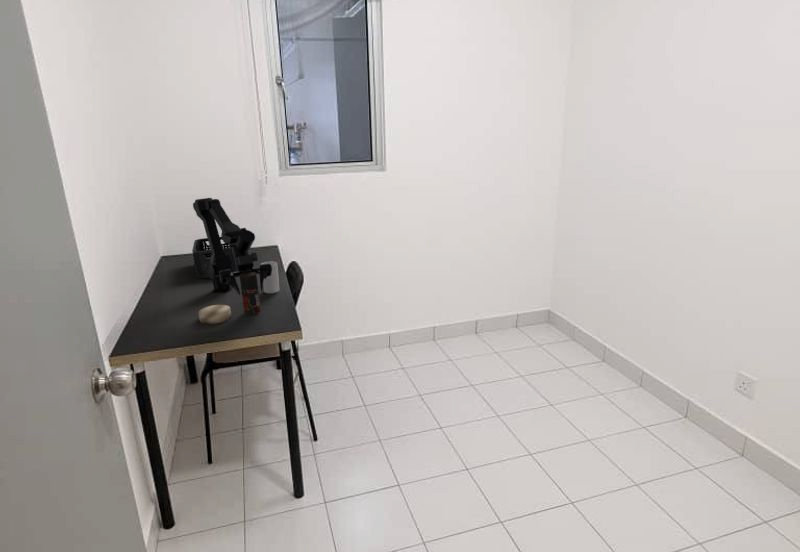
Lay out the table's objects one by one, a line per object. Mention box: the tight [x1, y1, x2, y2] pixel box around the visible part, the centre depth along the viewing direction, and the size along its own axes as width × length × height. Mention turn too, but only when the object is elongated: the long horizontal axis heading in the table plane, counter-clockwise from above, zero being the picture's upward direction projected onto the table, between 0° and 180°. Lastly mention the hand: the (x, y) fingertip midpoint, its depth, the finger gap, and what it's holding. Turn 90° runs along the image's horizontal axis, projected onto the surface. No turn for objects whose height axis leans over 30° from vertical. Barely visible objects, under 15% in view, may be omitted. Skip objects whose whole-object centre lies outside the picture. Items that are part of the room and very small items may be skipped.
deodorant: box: [239, 272, 262, 316], centre depth 183 cm, size 6×6×15 cm
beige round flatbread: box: [198, 304, 232, 325], centre depth 181 cm, size 11×11×3 cm
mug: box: [261, 261, 280, 294], centre depth 207 cm, size 10×7×12 cm, turn 9°
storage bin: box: [191, 236, 237, 279], centre depth 238 cm, size 29×19×13 cm
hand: (250, 292), depth 182 cm, fingers open, 8 cm apart
